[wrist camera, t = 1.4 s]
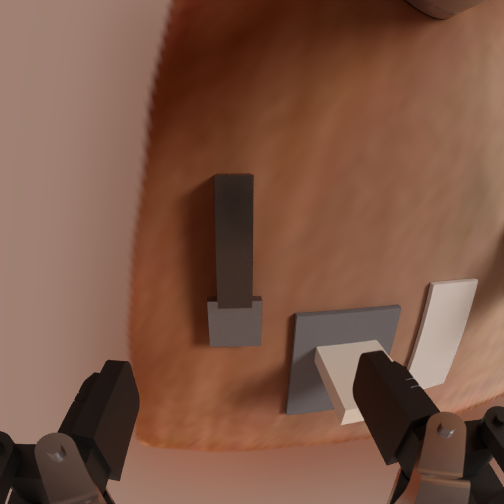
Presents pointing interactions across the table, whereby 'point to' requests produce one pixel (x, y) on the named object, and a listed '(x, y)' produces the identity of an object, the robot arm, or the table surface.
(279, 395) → the table surface
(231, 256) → the grey post on base
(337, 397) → the tile
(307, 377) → the mat
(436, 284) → the rest pad
